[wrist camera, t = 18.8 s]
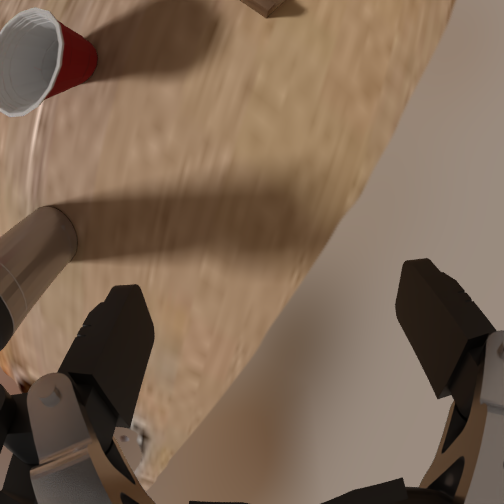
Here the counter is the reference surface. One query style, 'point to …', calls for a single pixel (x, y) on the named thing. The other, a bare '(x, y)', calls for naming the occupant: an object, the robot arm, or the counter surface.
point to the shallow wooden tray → (263, 6)
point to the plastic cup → (40, 60)
